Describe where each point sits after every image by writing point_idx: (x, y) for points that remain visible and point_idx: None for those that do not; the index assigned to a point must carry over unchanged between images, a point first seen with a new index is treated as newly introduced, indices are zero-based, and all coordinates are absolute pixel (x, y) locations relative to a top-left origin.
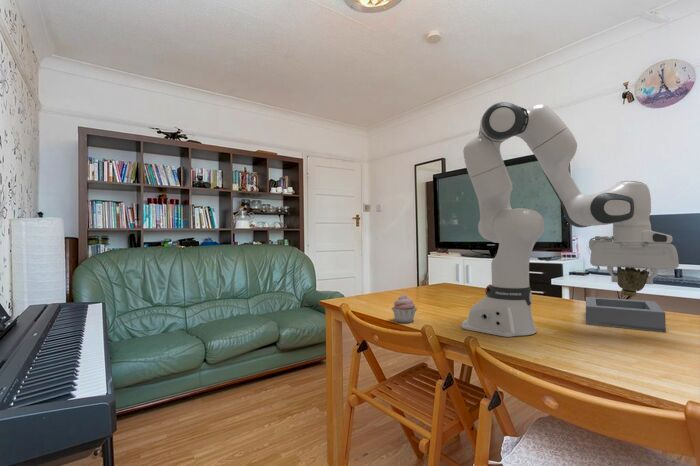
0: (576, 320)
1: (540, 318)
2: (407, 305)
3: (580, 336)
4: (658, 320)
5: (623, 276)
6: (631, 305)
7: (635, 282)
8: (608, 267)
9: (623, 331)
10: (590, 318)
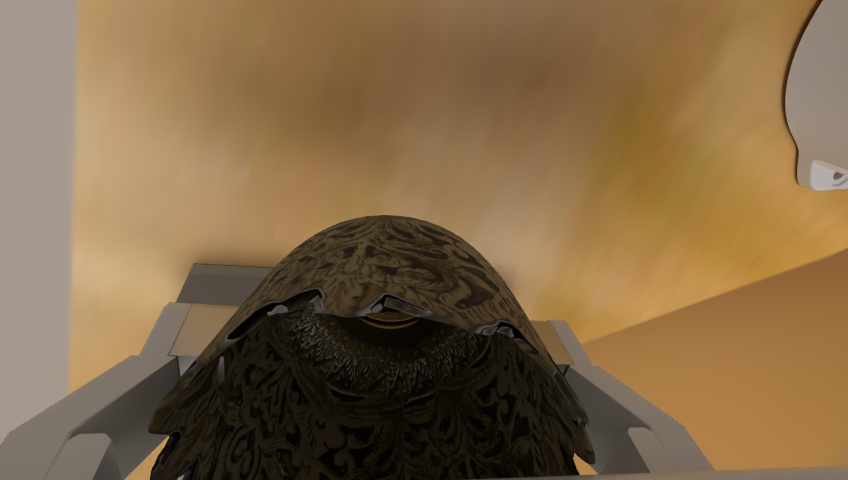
0: None
1: (656, 307)
2: None
3: (614, 25)
4: (209, 300)
5: (516, 301)
6: None
7: (372, 233)
8: (703, 467)
9: (378, 210)
10: None
